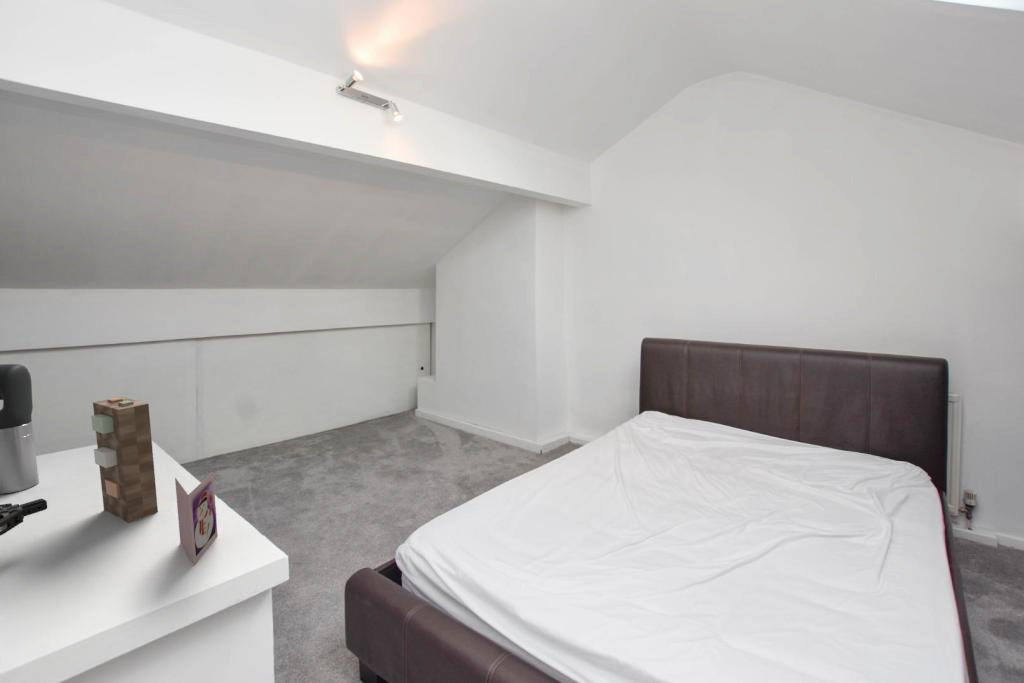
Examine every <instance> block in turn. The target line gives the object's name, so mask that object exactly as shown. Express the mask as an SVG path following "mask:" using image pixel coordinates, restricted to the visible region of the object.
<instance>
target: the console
mask: <svg viewBox="0 0 1024 683" xmlns="http://www.w3.org/2000/svg"><path fill="white" fill-rule="evenodd" d="M149 405H150V404H149V403H147V402H143V401H140V400H135V399H131V398H127V397H124V396H123V397H114V398H108V399H104V400H100V401H93V402H92V406H93V407H92V408H93V416H94V415H99V414H106V415H110V416H113V425H114V432H110V433H106V434H102V433H100V432H97V431H95V436H96V445H97V449H98V448H102V447H109V448H112V449H114V450H116V456H117V465H115V466H112V467H108V468H105V467H103V466H100V465H99V474H100V483H101V484H100V485H101V494H102V504H103V511H104V512H107V513H109V514H110V515H112V516H115V517H117V518H119V519H121V520H123V521H125V522H127V523H132V522H135V521H137V520H140V519H143V518H145V517H147V516H151V515H154V514H156V513H159V510H158V499H157V488H156V487H157V486H156V475H155V462H154V452H153V440H152V430H151V417H150V406H149ZM107 479H111V480H113V481H115V482H118V483H119V487H120V497H121V498H118V499H117V498H115V497H113V496H111V495H109V494H107V493H106V483H105V480H107Z"/></svg>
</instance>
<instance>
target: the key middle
mask: <svg viewBox="0 0 1024 683" xmlns="http://www.w3.org/2000/svg"><path fill="white" fill-rule="evenodd" d="M93 454H94V464H95V465H100V466H103V467H105V468H108V467H112V466H115V465H117V456H116V450H114V449H112V448H109V447H102V448H98V447H97V448H95V449H93Z"/></svg>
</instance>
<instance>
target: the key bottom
mask: <svg viewBox="0 0 1024 683" xmlns="http://www.w3.org/2000/svg"><path fill="white" fill-rule="evenodd" d="M105 483H106V493H107V494H109V495H111V496H113V497H115V498H117V499H118V498H121V497H120V487H119V483H118V482H115V481H113V480H111V479H107V480H105Z"/></svg>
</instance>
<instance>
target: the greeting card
mask: <svg viewBox="0 0 1024 683" xmlns="http://www.w3.org/2000/svg"><path fill="white" fill-rule="evenodd" d="M214 478H215V477H214V472H213V471H212V472H211V473H210V474H209V475H208V476H207V477H205V478H204V480H202V481H201V482H200V483H199V484H198V485H197V486H196V487H194V489H193V490H191V492H189V493H188V492H187V491H186V490H185V489H184V487H183V486H182V484H181V483H180V482H179V480H178V479H177V477H174V479H175V480H174V481H175V493H176V505H177V506H176V507H177V508H176V509H177V518H178V519H177V520H178V529H179V531H178V532H179V543H180V545H181V547H182V549H183V551H184V553H185V554H186V556H187V558H188V560H189V561H190V563H191V564H192V566H193V567H195V566H196V564H197V563H198V562H199V561H200V559H201V558H202V557H203V556H204V554H205V552H207V550H209V548H210V546H212V544H213V543H214V542H215V540H216V539H217V538H218V535H219V534H218V525H217V524H218V523H217V509H216V495H215V494H216V493H215V480H214Z"/></svg>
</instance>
